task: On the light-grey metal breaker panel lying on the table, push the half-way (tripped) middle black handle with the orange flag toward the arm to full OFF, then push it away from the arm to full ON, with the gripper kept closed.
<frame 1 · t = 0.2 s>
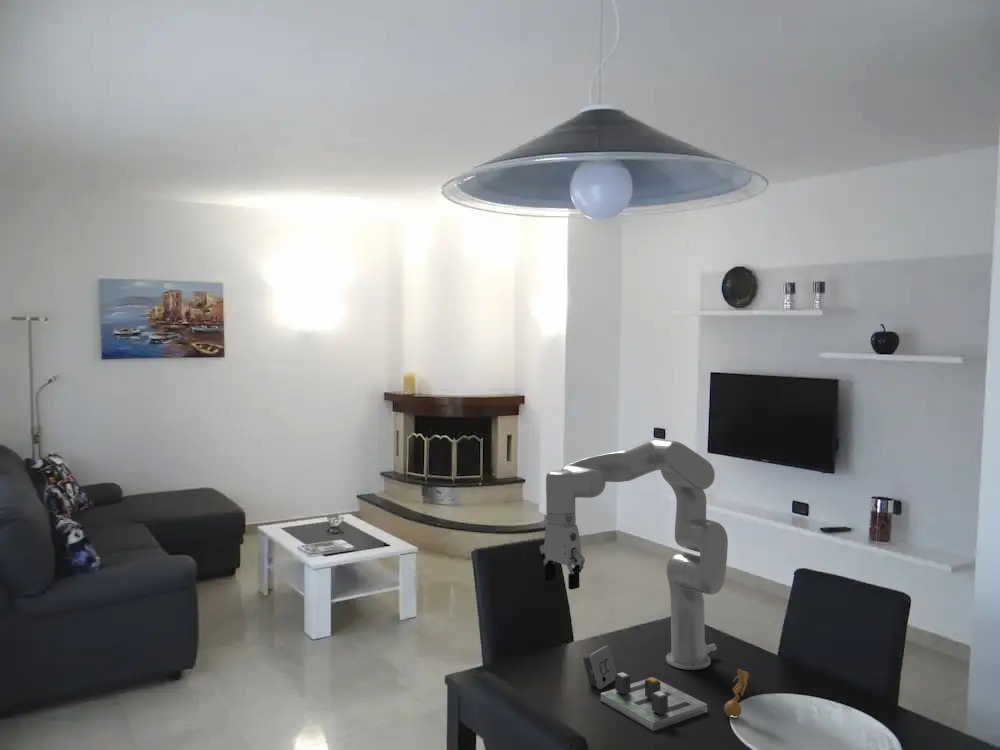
hand: (562, 584, 208), 31 cm above the table, fingers open, 9 cm apart
electrical switch: (600, 683, 219), on the table
breaker 1: (622, 682, 208), point 5 cm above the table, slide at 8.0 cm
figurine: (736, 717, 197), on the table
breaker mid: (652, 688, 204), point 5 cm above the table, slide at 4.0 cm
breaker 2: (659, 702, 196), point 5 cm above the table, slide at 8.0 cm
panel: (652, 706, 204), on the table
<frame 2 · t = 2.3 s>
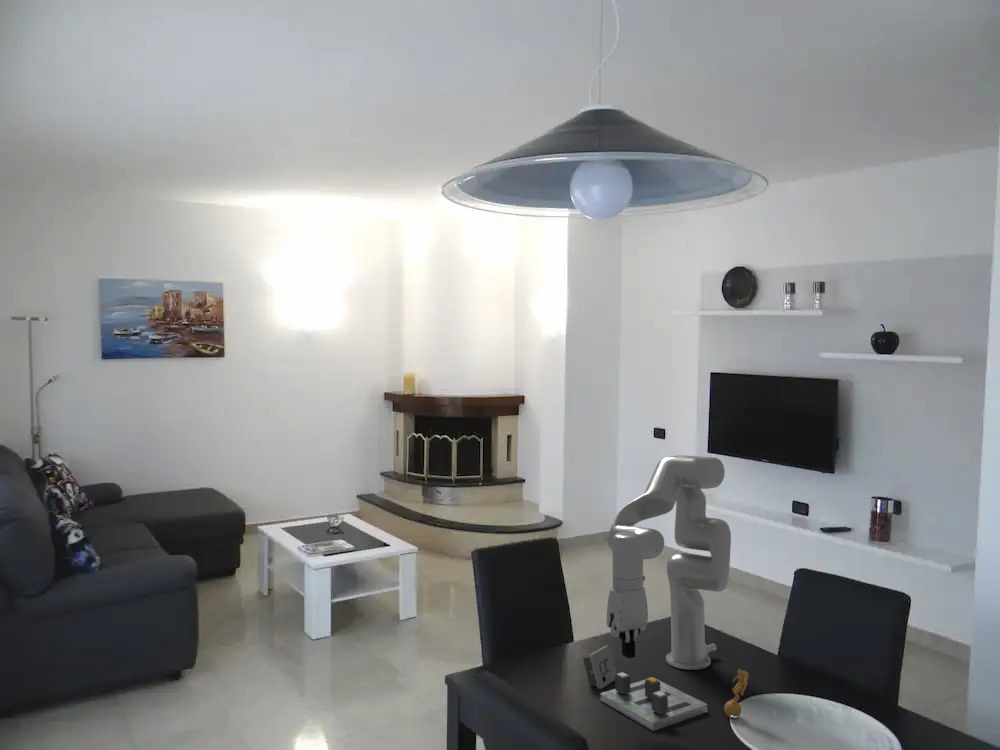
hand: (628, 656, 199), 15 cm above the table, fingers closed
nothing on the table moved.
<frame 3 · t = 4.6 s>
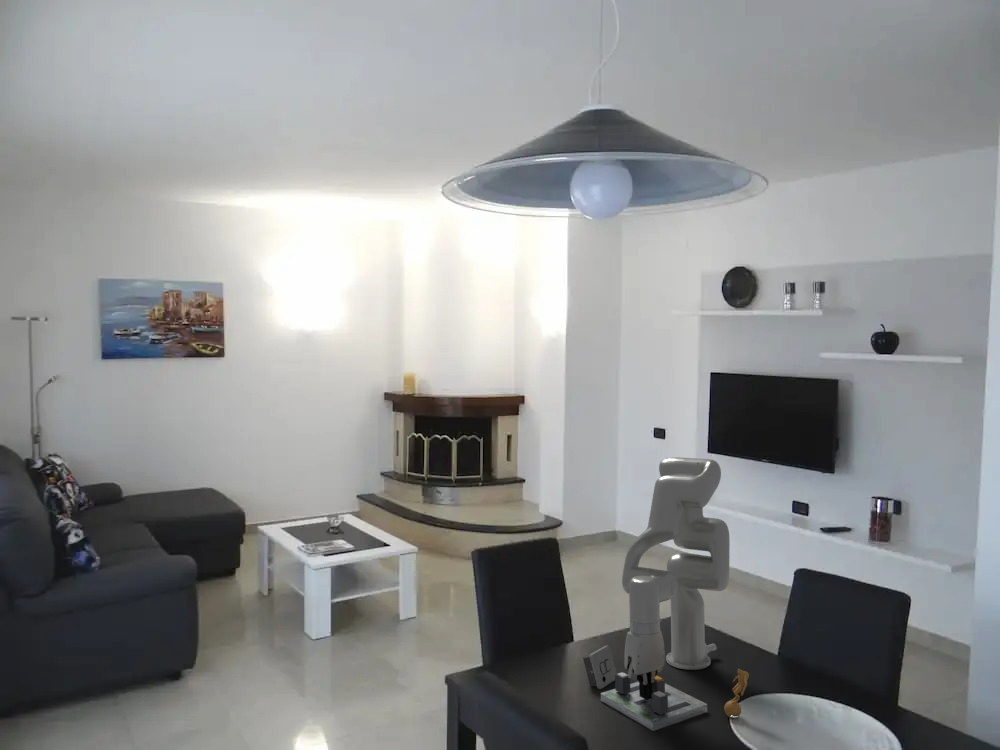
hand: (646, 697, 203), 3 cm above the table, fingers closed
breaker mid: (657, 686, 205), point 5 cm above the table, slide at 2.5 cm, touching gripper
everything else where it was.
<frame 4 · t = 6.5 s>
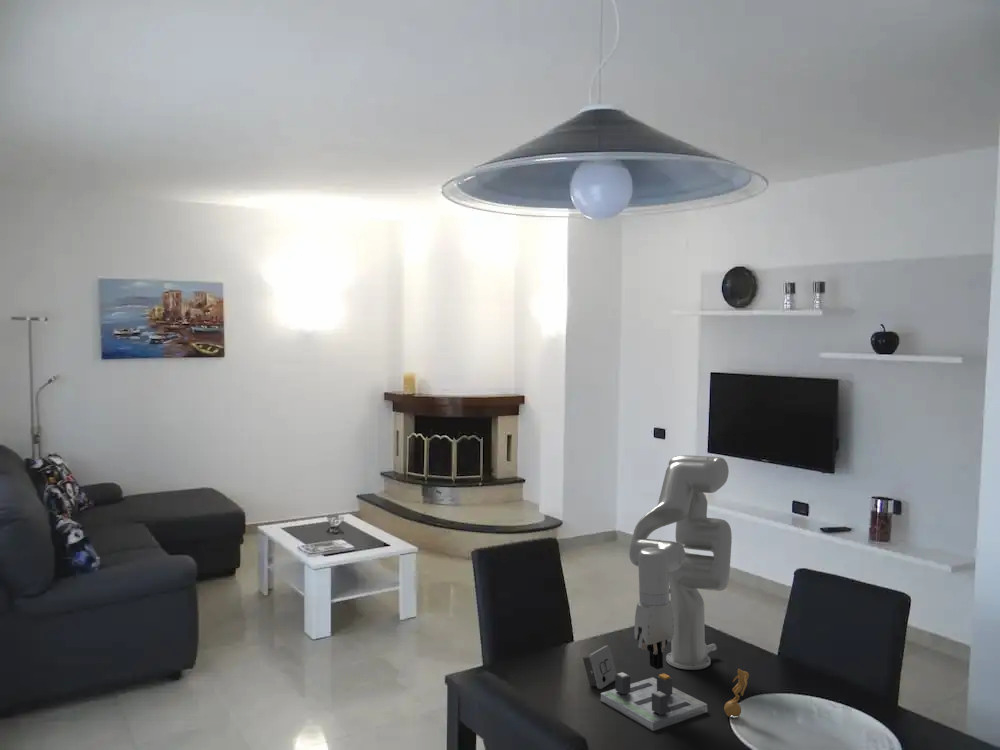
hand: (656, 666, 205), 10 cm above the table, fingers closed
breaker mid: (664, 684, 206), point 5 cm above the table, slide at 0.0 cm
everything else where it was.
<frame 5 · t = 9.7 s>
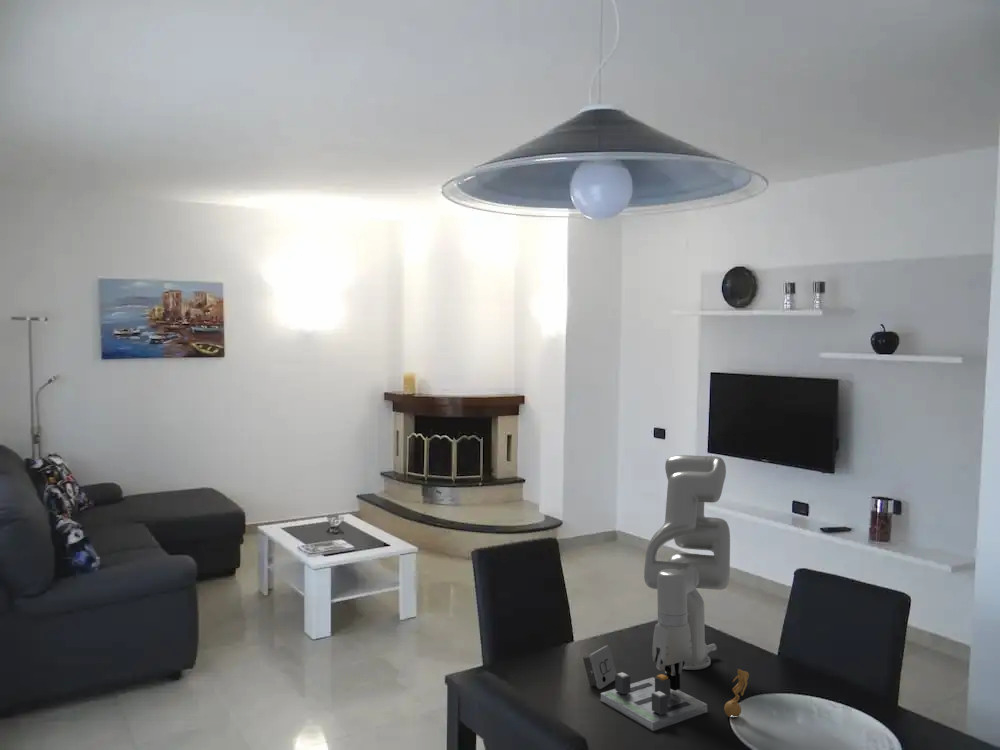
hand: (673, 688, 207), 3 cm above the table, fingers closed
breaker mid: (662, 684, 206), point 5 cm above the table, slide at 0.6 cm, touching gripper
everything else where it was.
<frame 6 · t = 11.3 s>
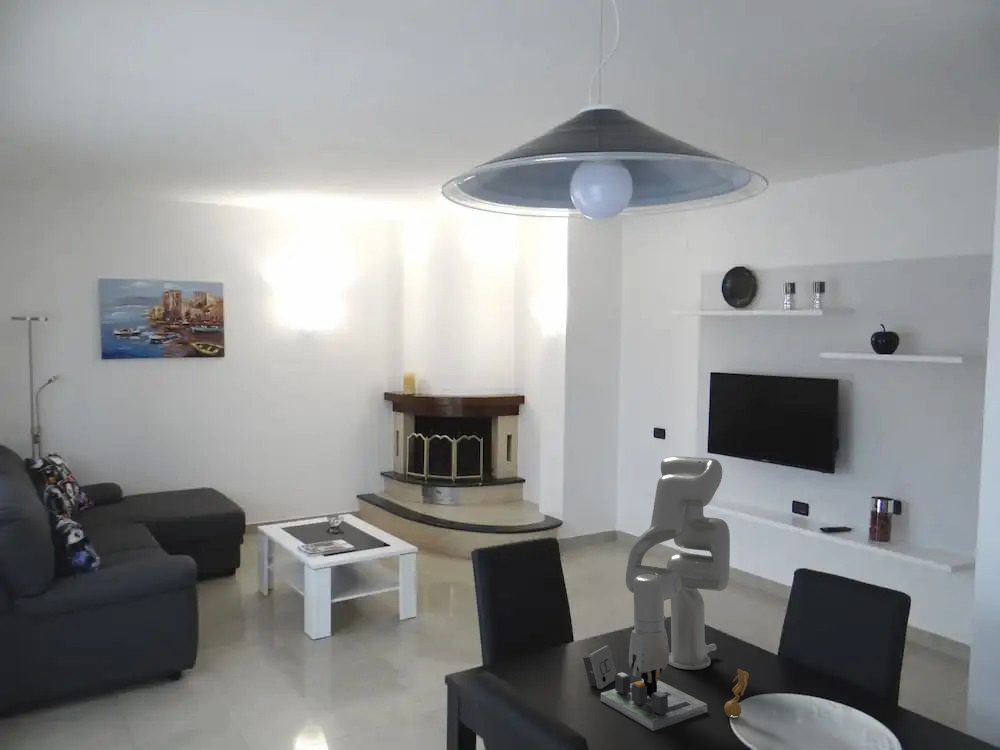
hand: (650, 695, 203), 3 cm above the table, fingers closed
breaker mid: (639, 692, 202), point 5 cm above the table, slide at 8.4 cm, touching gripper
everything else where it was.
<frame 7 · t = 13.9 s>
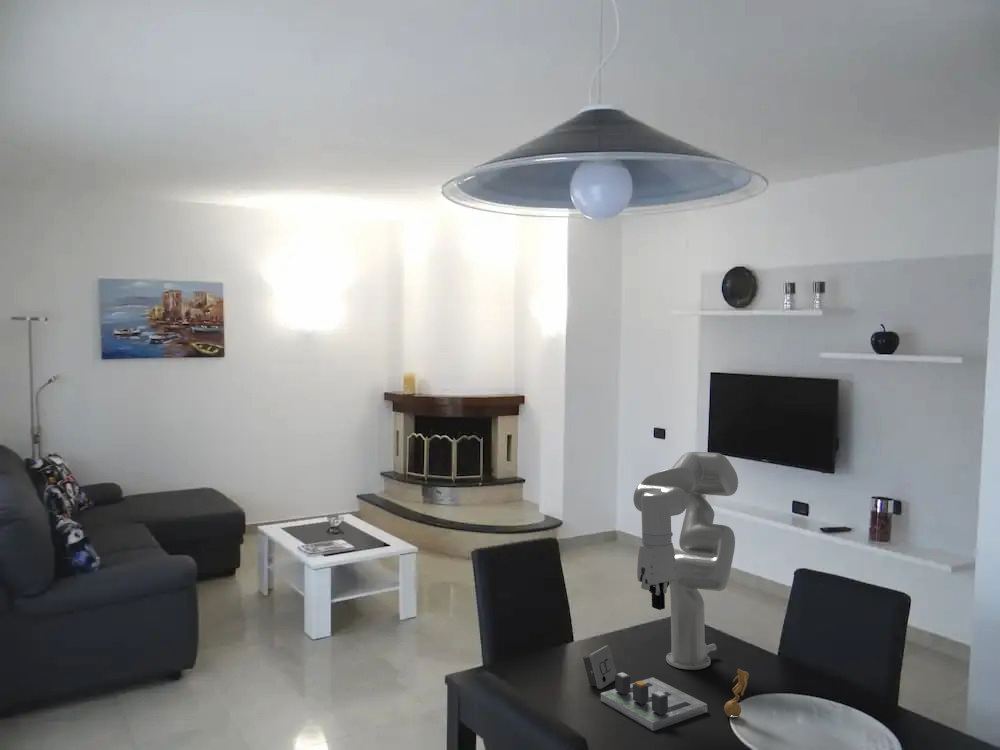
hand: (658, 608, 209), 23 cm above the table, fingers closed
breaker mid: (640, 691, 202), point 5 cm above the table, slide at 8.0 cm
everything else where it was.
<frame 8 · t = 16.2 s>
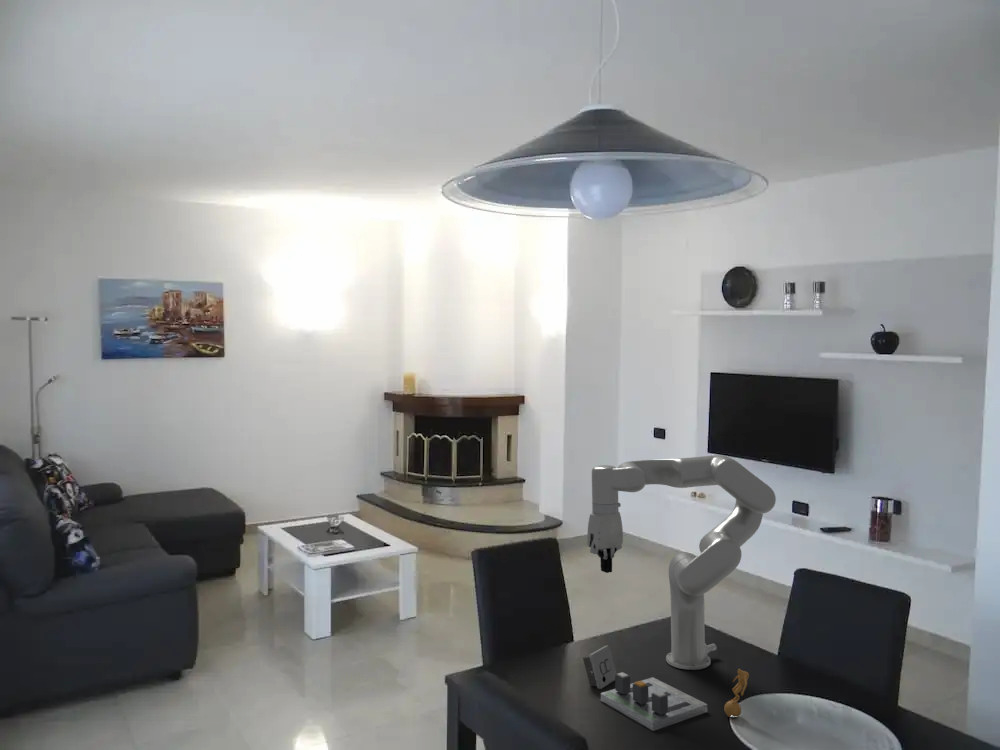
hand: (606, 571, 231), 27 cm above the table, fingers closed
nothing on the table moved.
at the end: breaker mid slide at 8.0 cm; breaker 1 slide at 8.0 cm; breaker 2 slide at 8.0 cm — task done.
